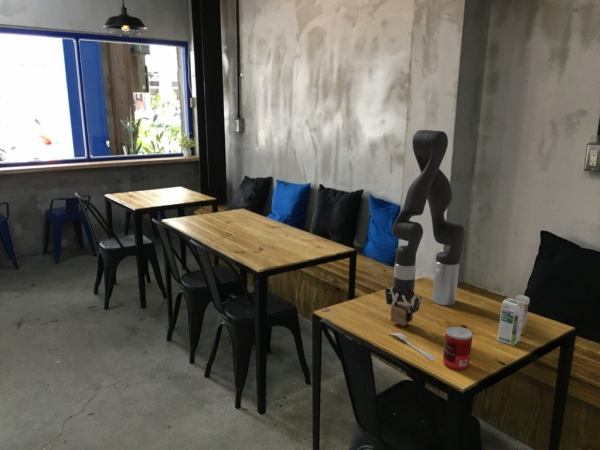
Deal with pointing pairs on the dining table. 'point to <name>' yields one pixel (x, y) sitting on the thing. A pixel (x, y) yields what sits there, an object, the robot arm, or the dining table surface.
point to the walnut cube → (399, 314)
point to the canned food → (457, 348)
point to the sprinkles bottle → (526, 300)
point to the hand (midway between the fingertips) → (401, 318)
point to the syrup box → (511, 321)
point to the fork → (413, 345)
